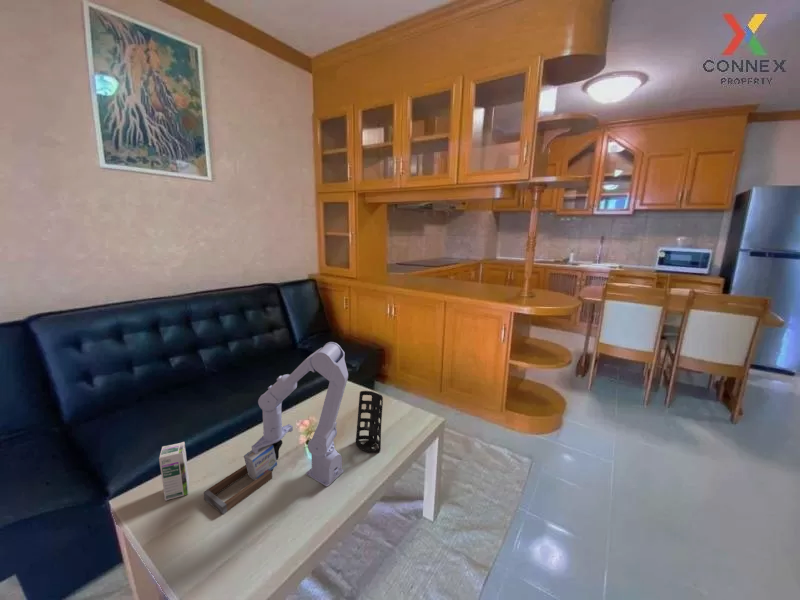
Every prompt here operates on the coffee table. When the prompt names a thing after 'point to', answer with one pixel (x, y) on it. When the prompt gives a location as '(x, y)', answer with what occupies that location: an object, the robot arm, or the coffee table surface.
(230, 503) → the open rail bay
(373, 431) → the holder
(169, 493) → the syrup box
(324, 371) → the robot arm
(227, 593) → the coffee table surface
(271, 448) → the medicine box
